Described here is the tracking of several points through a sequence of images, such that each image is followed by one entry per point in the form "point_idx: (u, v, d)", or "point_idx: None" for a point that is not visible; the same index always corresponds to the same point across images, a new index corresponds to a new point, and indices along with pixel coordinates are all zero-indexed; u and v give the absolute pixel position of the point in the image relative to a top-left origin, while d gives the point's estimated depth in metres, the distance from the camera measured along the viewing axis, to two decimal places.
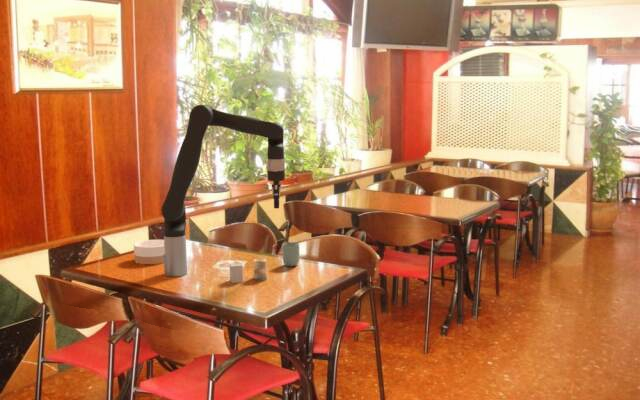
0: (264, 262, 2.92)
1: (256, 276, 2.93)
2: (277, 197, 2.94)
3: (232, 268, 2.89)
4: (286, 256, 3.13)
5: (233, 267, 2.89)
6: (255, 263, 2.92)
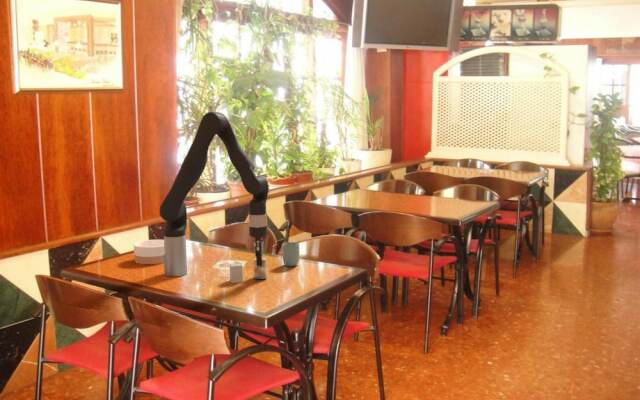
0: (264, 260, 2.93)
1: (255, 274, 2.93)
2: (259, 255, 2.88)
3: (232, 268, 2.89)
4: (286, 256, 3.13)
5: (233, 267, 2.89)
6: (255, 261, 2.93)
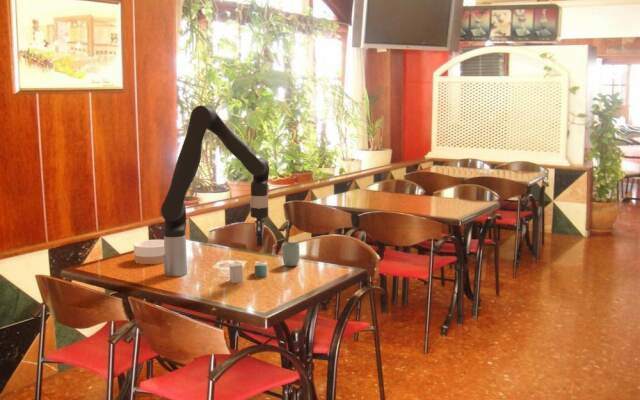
0: (265, 261, 3.05)
1: (256, 264, 2.99)
2: (260, 235, 2.94)
3: (232, 268, 2.89)
4: (286, 256, 3.13)
5: (233, 267, 2.89)
6: (257, 261, 3.05)
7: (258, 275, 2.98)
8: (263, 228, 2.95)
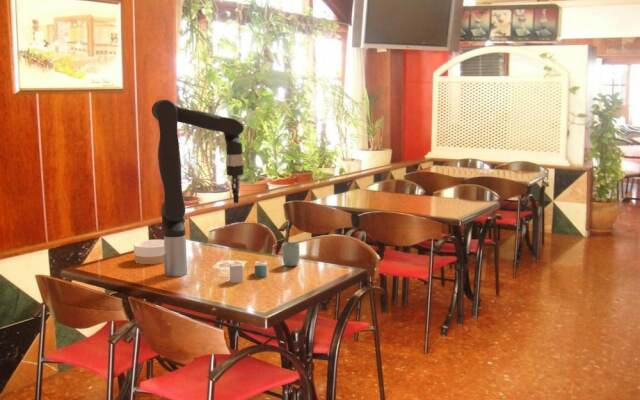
0: (265, 261, 3.05)
1: (256, 264, 2.99)
2: (236, 192, 3.10)
3: (232, 268, 2.89)
4: (286, 256, 3.13)
5: (233, 267, 2.89)
6: (257, 261, 3.05)
7: (258, 275, 2.98)
8: (239, 185, 3.11)
